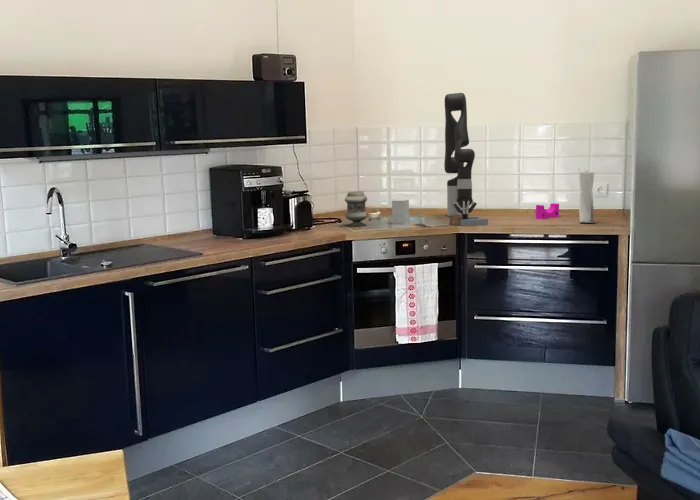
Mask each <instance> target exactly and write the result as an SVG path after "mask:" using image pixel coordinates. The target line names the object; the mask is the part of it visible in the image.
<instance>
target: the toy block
mask: <svg viewBox="0 0 700 500" xmlns="http://www.w3.org/2000/svg"><path fill="white" fill-rule="evenodd" d="M553 218H560V203H555V202H554V203H553V202H552V203H550V205H549V208H545V205H544V204H536V205H535V220H536V219H537V220H546V219H553Z"/></svg>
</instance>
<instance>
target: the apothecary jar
mask: <svg viewBox="0 0 700 500" xmlns="http://www.w3.org/2000/svg"><path fill="white" fill-rule="evenodd" d="M367 201H368V197H367V196H366V195H365V193H364V191H363V190H361V191H360V190H358V191H356V190H355V191H354V190H353V191H348V192H347V195H346V196H345V197H344V202H346V207H347V208H346V209H347V210H346V211H347V212H346V213H345V214H344V216H345V218H346V219H347V220H349V221H352V222H351V223H349V224H347V226H348V227H351V228H353V227H355V228H359V227H361V228H362V227H366V226H367V224H365V223H364V222H362V221H363V220H366V219H367V218H368V217H369V213H368V212H367V210H366V202H367Z"/></svg>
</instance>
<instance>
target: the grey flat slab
mask: <svg viewBox="0 0 700 500" xmlns="http://www.w3.org/2000/svg"><path fill="white" fill-rule="evenodd" d="M488 225H489V218H479V216H476V215H475V216H474V215H473V216H468V219H464V220H460V225H459V226H461V227H468V226H469V227H472V226H488Z"/></svg>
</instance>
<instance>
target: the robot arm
mask: <svg viewBox="0 0 700 500" xmlns="http://www.w3.org/2000/svg"><path fill="white" fill-rule="evenodd" d="M459 111H460V116H459V119H458V121H457V120H456V118H455V117H454V116H453V114H452V112H459ZM467 111H468V109H467V98H466V95H465V93H463V92H454V93H447V94H446V95H445V97H444V115H445V116H444V118H445V123H444V125H445V126H444V144H445V145H444V146H445V150H444V171H445V173H446V174H457V175H456V176H455V177H454V178H451V179H448V180H447V182H446V188H447V189H446V191H447V194H446V200H447V201H446V207H447V208H446V213H447V214H446V215H447V217H450V215H458V214H459V215H462V220H464V219H468V217H469V214H471V213H472V212H473V210H474V209H475V207H476V206H477V202H475V201H474V199H473V181H472V170H473V169H472V168H473V165H474V162H475V157H476V155H475V154H476V153H475V151H474V149H473V148H465V147H467V146H468V145H469V144H470V137H469V131H468V112H467ZM465 163H466V164H465Z"/></svg>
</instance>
